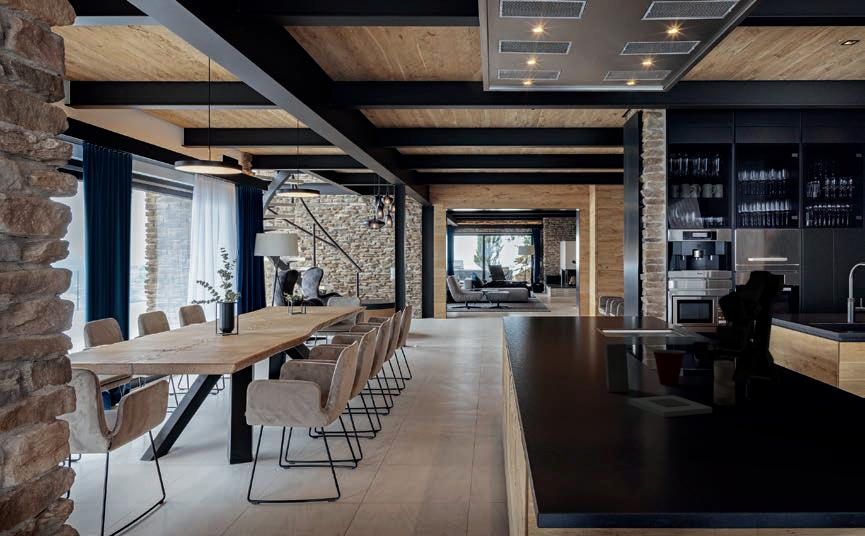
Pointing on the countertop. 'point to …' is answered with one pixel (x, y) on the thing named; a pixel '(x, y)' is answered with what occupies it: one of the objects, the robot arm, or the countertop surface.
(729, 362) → the ash sleeve
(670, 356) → the plastic cup
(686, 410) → the sage board
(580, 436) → the countertop surface
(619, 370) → the skincare box
